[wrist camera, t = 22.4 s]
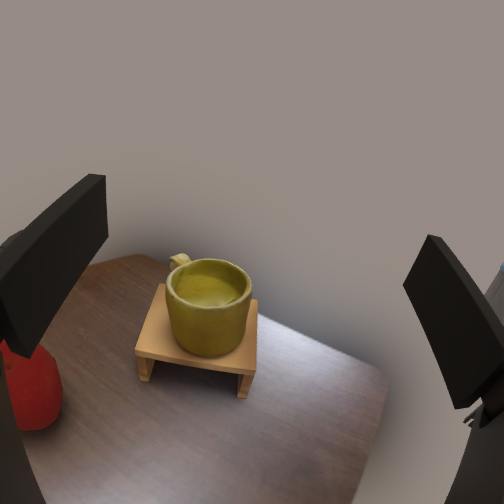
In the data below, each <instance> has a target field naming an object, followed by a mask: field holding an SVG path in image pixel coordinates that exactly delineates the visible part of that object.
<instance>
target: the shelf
mask: <svg viewBox="0 0 504 504" xmlns="http://www.w3.org/2000/svg"><path fill="white" fill-rule="evenodd" d="M165 286H166V285H164V284H159V286H158V289H157V291H156V294H155V296H154V299H153V301H152V304H151V307H150V309H149V312H148V314H147V317H146V320H145V322H144V325H143V328H142V331H141V333H140V336H139V339H138V342H137V344H136V347H135V354H136V359H137V365H138V371H139V376H140V381H144V382H149V380H150V376H151V372H152V369H153V365H154V362H155V360H160V361H165V362H170V363H175V364H181V365H186V366H192V367H197V368H203V369H209V370H216V371H222V372H229V373H237V374H239V375H238V389H237V398H243V399H246V397H247V394H248V392H249V389H250V386H251V383H252V380H253V377H254V375H255V372H256V352H257V312H258V308H257V307H258V300H253V299H251V302H250V308H249V312H248V317H247V322H246V331H245V335H244V337H243V339H242V341H241V343H240V344H239V345H238V346H237V347H236V348H235V349H234V350H232V351H231V352H229V353H226V354H224V355H221V356H199V355H196V354H193V353H191V352H189V351H188V350H186V349H185V348H184V347H182V346H181V345H180V344H179V343H178V341H177V340H176V338H175V336H174V334H173V331H172V327H171V323H170V318H169V314H168V309H167V305H166V299H165Z"/></svg>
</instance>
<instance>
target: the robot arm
mask: <svg viewBox="0 0 504 504" xmlns="http://www.w3.org/2000/svg"><path fill="white" fill-rule="evenodd" d="M107 238H108V224H107V205H106V176H105V175H97V174H88V175H87V176H85V177H84V178H83V179H82V180H80V181H79V182H78V183H76V184H75V185H74V186H73V187H72V188H70V189H69V190H68V191H67V192H66V193H64V194H63V195H62V196H61V197H59V198H58V199H57V200H56V201H55V202H54V203H52V205H50V206H49V207H48V208H47V209H46V210H45V211H43V212H42V213H41V214H40V215H39V216H38V217H37V218H36V219H35V220H34V221H32V222H31V223H30V224H29V225H28V226H27V227H26V228H25V229H24V230H21V231H19V232H17V233H16V234H14V235H12V236H10V237H9V238H8V239H7V240H6V241H5V242H4V243H3V244H2V245H1V246H0V344H1V343H2V341H3V339H4V340H5V342H6V344H7V346H8V347H9V349H10V351H11V352H13V353H15V354H17V355H20V356H22V357H25V358H27V359H29V360H30V358H31V356H32V354H33V352H34V351H35V349H36V347H37V345H38V343H39V342H40V340H41V338H42V336H43V335H44V333H45V331H46V330H47V328H48V326H49V325H50V323H51V321H52V320H53V318H54V316H55V315H56V313H57V311H58V310H59V308H60V307H61V305H62V303H63V302H64V300H65V299H66V297H67V296H68V294H69V292H70V291H71V289H72V288H73V286H74V285H75V283H76V282H77V280H78V279H79V277H80V276H81V274H82V273H83V272H84V270H85V269H86V267H87V266H88V264H89V263H90V261H91V260H92V259H93V257H94V256H95V254H96V253H97V252H98V250H99V249H100V248H101V246H102V244H103V243H104V242H105V240H106V239H107ZM500 268H501V269H500V270H499V272H498V274H497V276H496V277H495V279H494V280H493V282H492V284H491V285H490V287H489V288H488V290H487V291H486V293H485V294H484V295H483V294H482V292H481V291H480V289H479V288H478V286H477V285H476V283H475V282H474V281H473V279H472V278H471V276H470V275H469V274H468V272H467V271H466V269H465V268H464V267H463V265H462V264H461V263H460V261H459V260H458V259H457V257H456V256H455V255H454V253H453V252H452V251H451V249H450V248H449V247H448V246H447V244H446V243H445V242H444V241H443V239H442V238H441V237H437V236H433V235H428V236H427V238H426V240H425V242H424V244H423V246H422V248H421V250H420V252H419V254H418V256H417V258H416V260H415V262H414V264H413V266H412V268H411V270H410V272H409V274H408V276H407V278H406V280H405V282H404V283H403V287H404V289H405V290H406V293H407V295H408V297H409V299H410V301H411V303H412V305H413V307H414V309H415V312H416V314H417V316H418V318H419V320H420V323H421V325H422V327H423V329H424V332H425V334H426V336H427V338H428V341H429V343H430V345H431V348H432V350H433V353H434V355H435V358H436V360H437V362H438V365H439V367H440V370H441V372H442V375H443V378H444V380H445V383H446V386H447V389H448V391H449V394H450V397H451V399H452V402H453V405H454V408H455V409H462V408H468V407H470V406H471V405H472V404H473V403H474V402H475V401H477V400H478V399H479V398H480V397H481V399H482V402H483V403H482V404H481V405H480V406H479V407H478V408H477V409H476V410H474V411H473V412H472V413H471V414H470V415H469V416H467V417H466V418H465V420H464V422H463V423H466V422H468V421H469V420H470V419H471V418H472V419H474V420H473V421H472V422H471V423H470V424H469V425H468V426H469V427H471V428H472V429H471V432H470V436H469V439H468V442H467V445H466V449H465V452H464V455H463V458H462V460H461V463H460V466H459V469H458V472H457V474H456V477H455V479H454V482H453V484H452V487H451V489H450V492H449V494H448V496H447V498H446V501H445V503H444V504H504V263H503V264H502V265H501V267H500ZM0 504H46V502H45V500H44V498H43V495H42V493H41V491H40V488H39V486H38V484H37V481H36V479H35V476H34V474H33V471H32V468H31V466H30V463H29V460H28V457H27V454H26V451H25V448H24V445H23V442H22V439H21V436H20V432H19V429H18V425H17V422H16V418H15V414H14V410H13V406H12V402H11V398H10V393H9V388H8V383H7V378H6V373H5V367H4V361H3V354H2V352H1V349H0Z"/></svg>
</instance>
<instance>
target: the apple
mask: <svg viewBox="0 0 504 504" xmlns="http://www.w3.org/2000/svg"><path fill="white" fill-rule="evenodd" d="M0 349H1V352H2V354H3V361H4V367H5V373H6V378H7V383H8V388H9V393H10V398H11V402H12V406H13V410H14V414H15V418H16V422H17V425H18V429H19V430H40V429H44V428H47V427H48V426H49V425H51V424H52V423H53V422H54V421H55V420H56V418H57V416H58V415H59V413H60V409H61V404H62V392H63V388H62V383H61V379H60V375H59V371H58V368H57V364H56V361H55V359H54V358H53V357H52V356H51V355H50V353H49V352H48V351H47V350H46V349H45V348H44V347H43V346H41V345H40V344H39V343H38V345H37V347H36V349H35V351H34V352H33V354H32V356H31V358H30V360H29V359H27V358H25V357H22V356H20V355H17V354H15V353H13V352H11V351H10V349H9V347H8V346H7V344H6V342H5V340H4V339H3V341H2V343H1V344H0Z"/></svg>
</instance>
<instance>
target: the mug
mask: <svg viewBox="0 0 504 504" xmlns="http://www.w3.org/2000/svg"><path fill="white" fill-rule="evenodd" d="M169 262H170V263H169V265H170V269H171V273H170V275H169V276H168V278H167V281H166V286H165V299H166V305H167V309H168V314H169V318H170V323H171V327H172V331H173V334H174V336H175V338H176V340H177V341H178V343H179V344H180V345H181V346H182V347H184V348H185V349H186V350H188V351H189V352H191V353H193V354H196V355H199V356H221V355H224V354H226V353H229V352H231V351H232V350H234V349H235V348H236V347H237V346H238V345H239V344H240V343H241V341H242V339H243V337H244V335H245V331H246V322H247V317H248V312H249V308H250V302H251V297H252V283H251V280H250V278H249V276H248V275H247V274H246V273H245V272H244V270H242V269H241V268H240V267H238V266H236V265H234V264H232V263H230V262H228V261H225V260H220V259H209V258H207V259H200V260H194V261H191V260H190V258H189V257H188V256H187V255H186V254H178V255H176V256H172V257H170V260H169Z"/></svg>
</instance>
